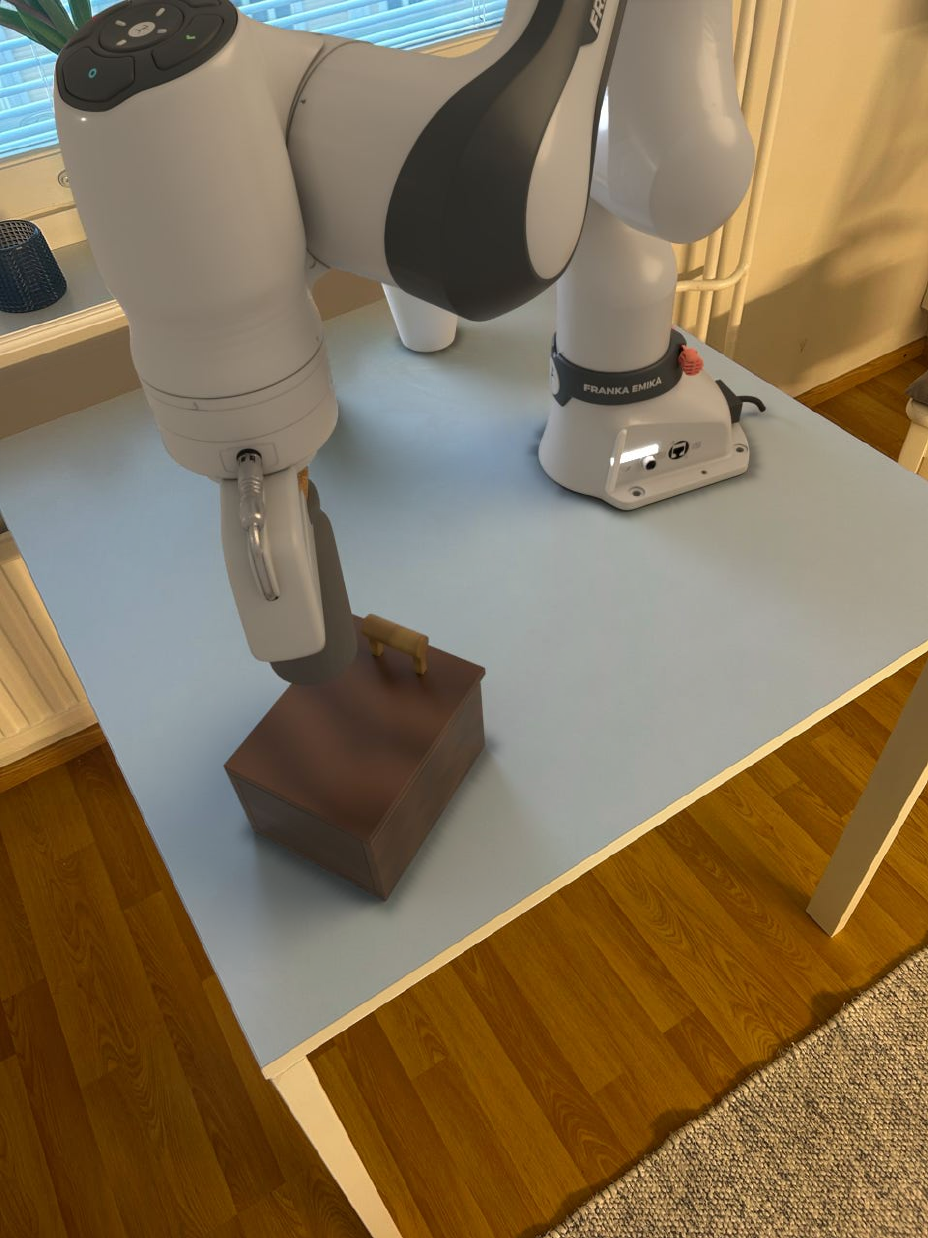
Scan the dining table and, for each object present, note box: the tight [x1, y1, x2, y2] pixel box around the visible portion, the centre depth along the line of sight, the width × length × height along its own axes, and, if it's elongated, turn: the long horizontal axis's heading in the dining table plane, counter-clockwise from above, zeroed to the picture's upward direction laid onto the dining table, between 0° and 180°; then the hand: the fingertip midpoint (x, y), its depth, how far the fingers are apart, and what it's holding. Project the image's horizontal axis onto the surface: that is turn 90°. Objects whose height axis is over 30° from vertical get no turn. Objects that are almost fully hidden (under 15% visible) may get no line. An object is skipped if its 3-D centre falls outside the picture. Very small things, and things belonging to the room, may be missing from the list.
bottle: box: [268, 464, 357, 686], centre depth 55 cm, size 6×6×15 cm
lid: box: [223, 613, 487, 845], centre depth 68 cm, size 16×13×5 cm
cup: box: [380, 283, 459, 353], centre depth 115 cm, size 12×12×12 cm
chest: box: [225, 681, 486, 902], centre depth 73 cm, size 16×13×9 cm
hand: (297, 587), depth 56 cm, fingers closed on bottle, 5 cm apart
